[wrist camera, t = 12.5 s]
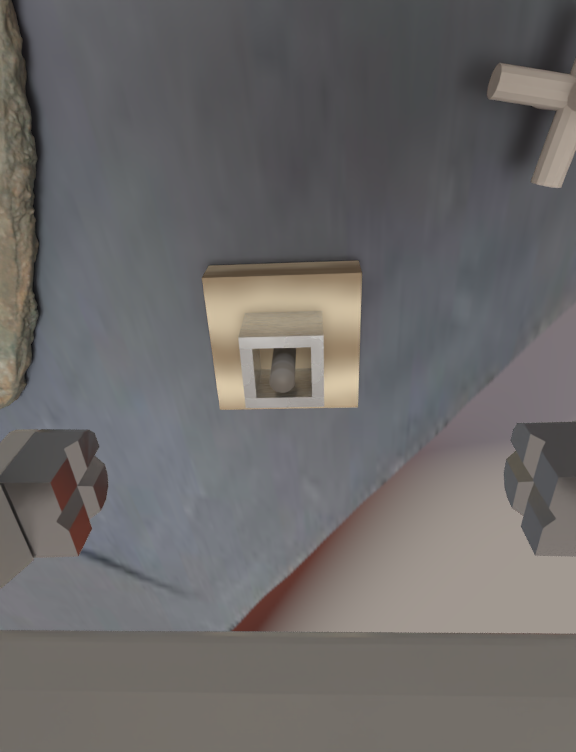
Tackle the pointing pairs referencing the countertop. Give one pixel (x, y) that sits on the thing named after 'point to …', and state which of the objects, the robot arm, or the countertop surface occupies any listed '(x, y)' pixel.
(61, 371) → the countertop surface
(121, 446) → the countertop surface
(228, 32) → the countertop surface
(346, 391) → the shaft stand
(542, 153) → the pipe connector
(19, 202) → the long grey stone
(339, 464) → the countertop surface
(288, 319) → the silver square ring
